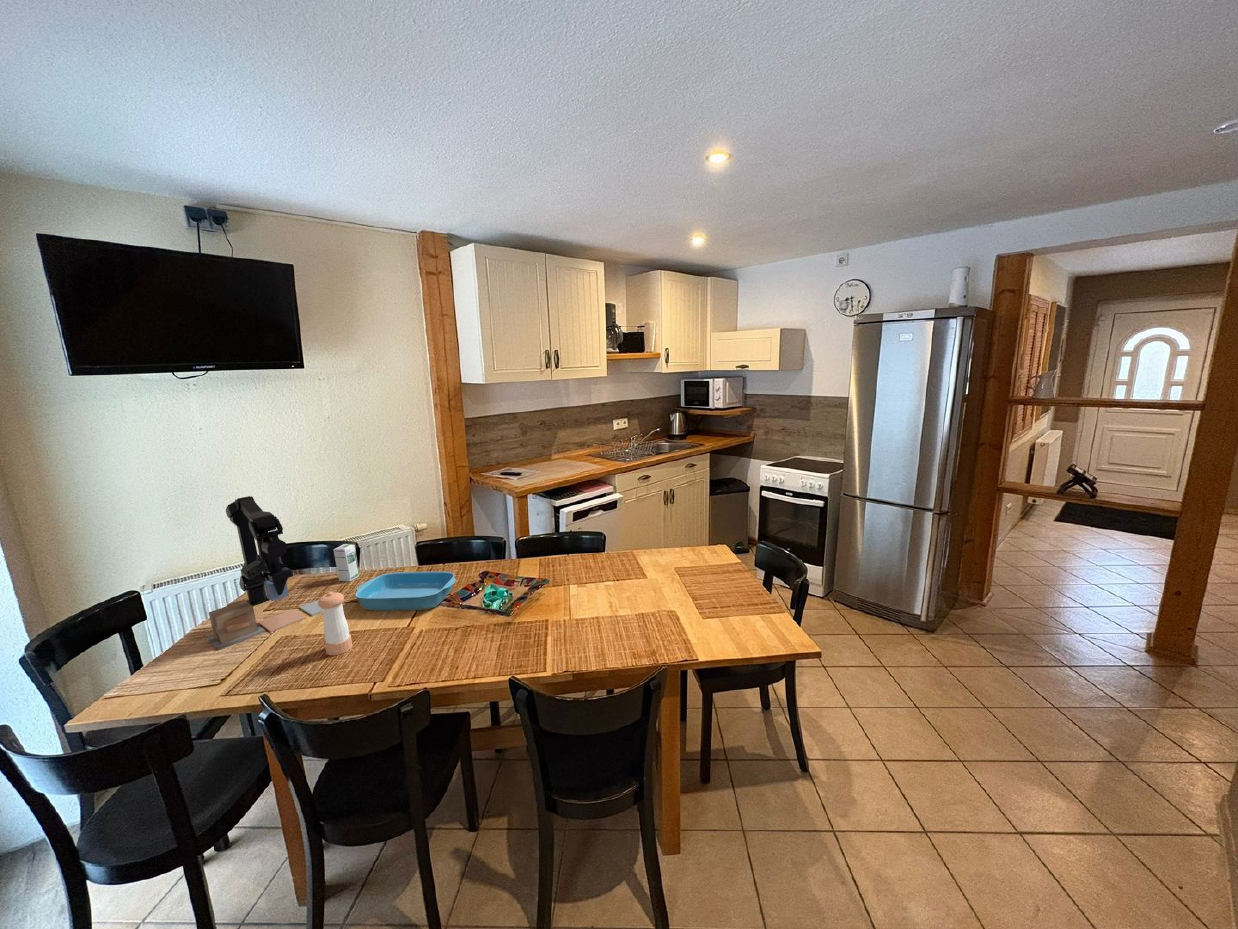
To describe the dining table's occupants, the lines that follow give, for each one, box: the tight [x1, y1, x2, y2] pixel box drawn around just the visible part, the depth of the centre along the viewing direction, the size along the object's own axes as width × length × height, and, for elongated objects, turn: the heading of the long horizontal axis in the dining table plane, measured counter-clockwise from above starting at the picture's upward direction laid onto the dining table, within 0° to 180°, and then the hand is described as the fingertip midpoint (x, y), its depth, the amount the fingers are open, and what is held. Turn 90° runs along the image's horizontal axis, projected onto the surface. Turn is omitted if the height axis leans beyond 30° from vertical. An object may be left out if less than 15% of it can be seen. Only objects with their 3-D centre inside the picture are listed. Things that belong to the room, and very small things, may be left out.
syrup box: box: [333, 543, 361, 582], centre depth 208 cm, size 6×6×14 cm
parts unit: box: [207, 599, 266, 651], centre depth 165 cm, size 11×13×10 cm
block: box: [264, 581, 290, 602], centre depth 173 cm, size 5×5×6 cm
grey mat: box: [299, 599, 344, 617], centre depth 185 cm, size 11×11×1 cm
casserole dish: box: [354, 570, 457, 612], centre depth 187 cm, size 37×22×7 cm, turn 86°
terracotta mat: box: [258, 609, 307, 633], centre depth 175 cm, size 11×11×1 cm
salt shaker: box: [318, 591, 353, 656], centre depth 154 cm, size 7×7×19 cm
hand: (277, 592), depth 173 cm, fingers closed on block, 5 cm apart
